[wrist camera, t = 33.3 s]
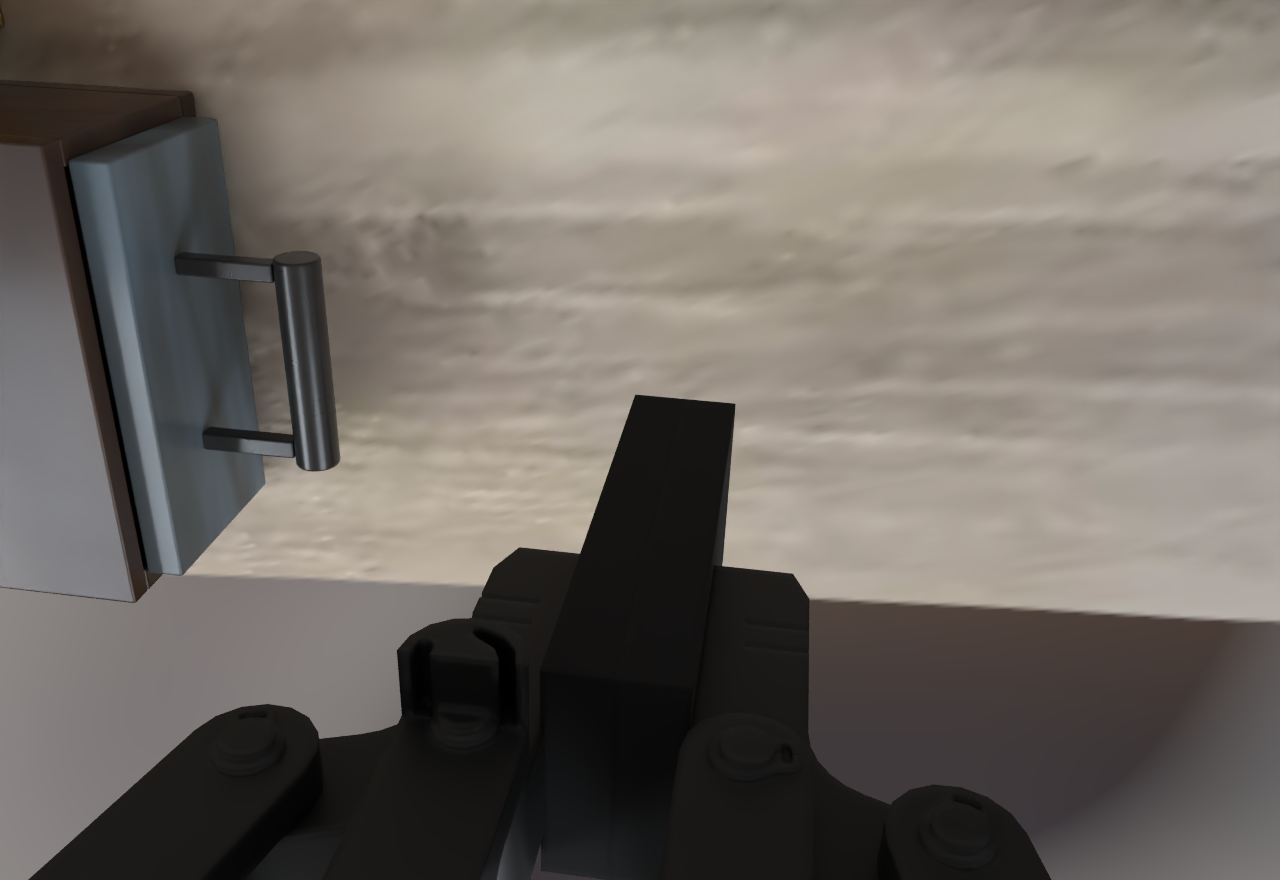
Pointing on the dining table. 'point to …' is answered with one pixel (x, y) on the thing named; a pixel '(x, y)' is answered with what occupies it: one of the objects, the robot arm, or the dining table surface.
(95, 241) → the drawer
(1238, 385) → the dining table surface
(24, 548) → the cabinet
